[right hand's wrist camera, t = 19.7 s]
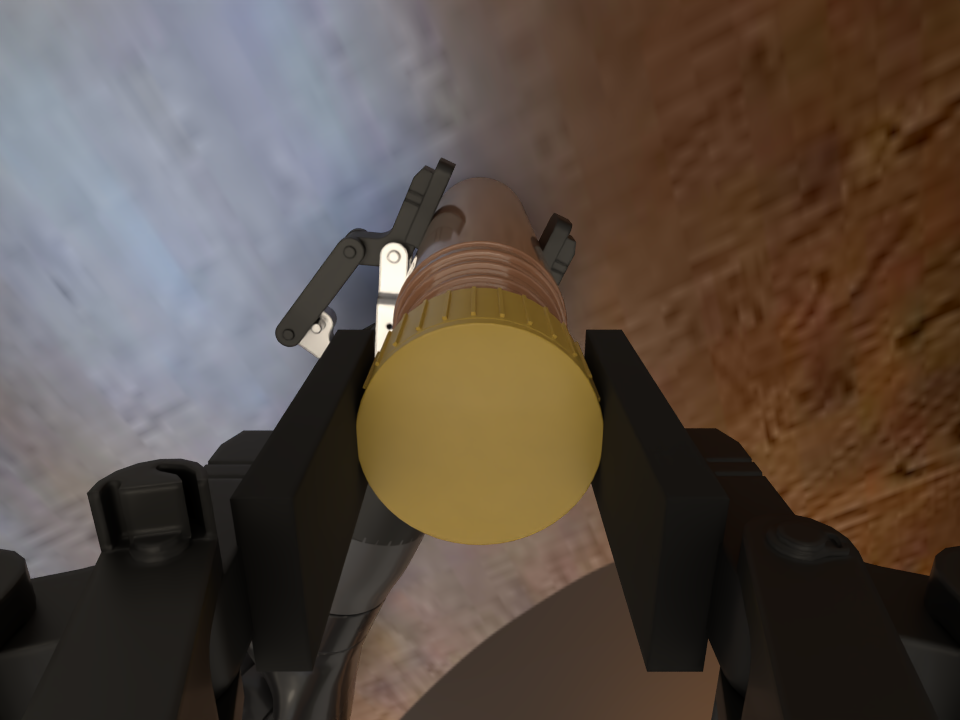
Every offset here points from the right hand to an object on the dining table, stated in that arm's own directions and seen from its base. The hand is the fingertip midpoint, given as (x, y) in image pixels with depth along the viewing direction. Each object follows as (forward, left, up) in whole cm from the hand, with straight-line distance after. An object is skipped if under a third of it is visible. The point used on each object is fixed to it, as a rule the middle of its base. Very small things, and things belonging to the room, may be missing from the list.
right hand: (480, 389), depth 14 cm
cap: (0, 0, +2) cm, 2 cm away
